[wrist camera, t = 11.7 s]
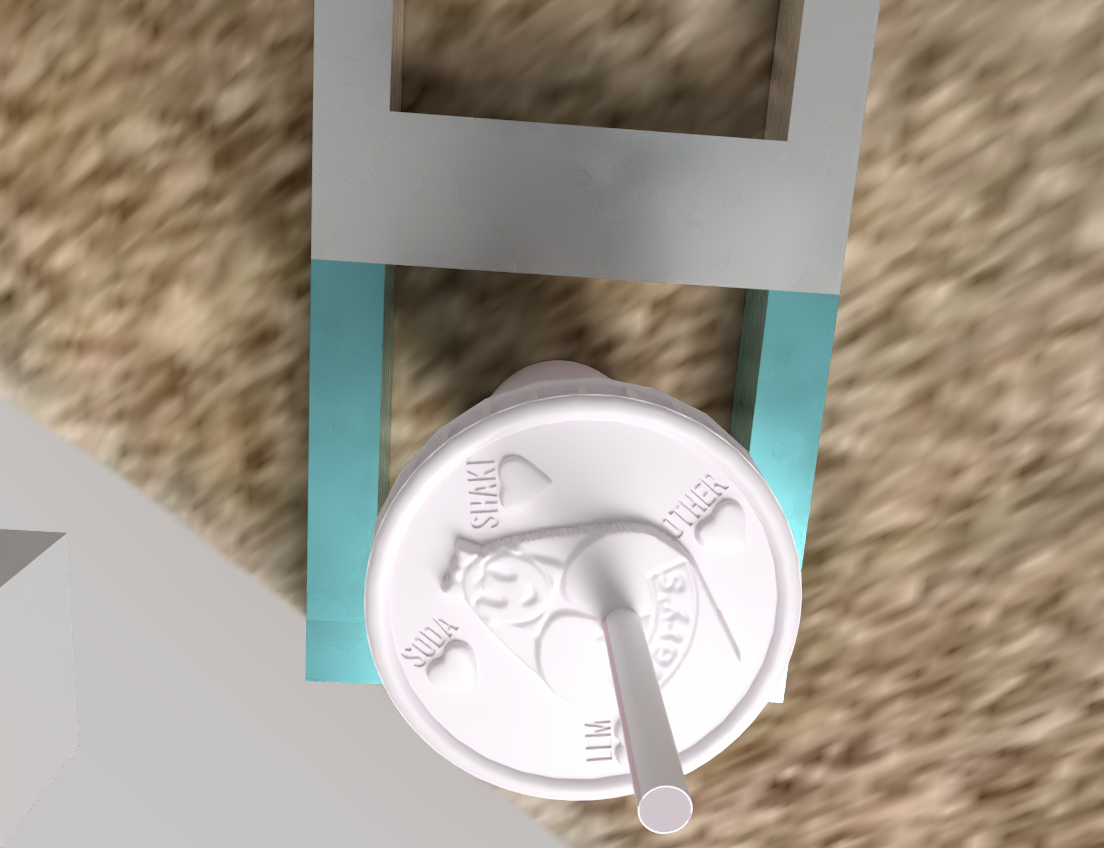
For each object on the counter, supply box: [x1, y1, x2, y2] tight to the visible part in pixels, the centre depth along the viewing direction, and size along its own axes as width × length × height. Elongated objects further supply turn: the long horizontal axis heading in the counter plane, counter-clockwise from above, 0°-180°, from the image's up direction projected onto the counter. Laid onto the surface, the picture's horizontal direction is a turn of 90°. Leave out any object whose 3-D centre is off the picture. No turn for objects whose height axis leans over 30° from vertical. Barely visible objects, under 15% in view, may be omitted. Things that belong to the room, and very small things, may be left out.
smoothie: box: [364, 360, 802, 834], centre depth 17 cm, size 6×6×14 cm
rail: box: [306, 0, 880, 702], centre depth 21 cm, size 22×11×2 cm, turn 176°
